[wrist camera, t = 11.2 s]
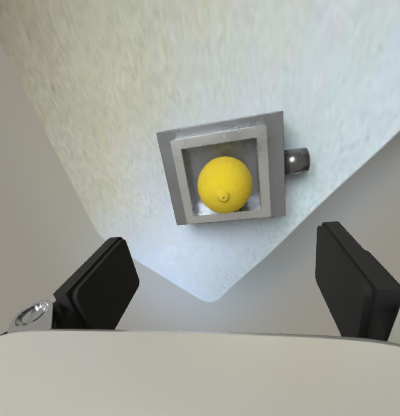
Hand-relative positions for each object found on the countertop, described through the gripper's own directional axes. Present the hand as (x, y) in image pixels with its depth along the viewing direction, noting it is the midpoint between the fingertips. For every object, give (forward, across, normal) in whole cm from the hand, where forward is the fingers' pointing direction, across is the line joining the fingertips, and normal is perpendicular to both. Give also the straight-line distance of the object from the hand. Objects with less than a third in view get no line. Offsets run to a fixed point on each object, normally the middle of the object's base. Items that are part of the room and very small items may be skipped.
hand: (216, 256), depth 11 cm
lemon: (+17, 0, 0) cm, 17 cm away
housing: (+22, -1, +1) cm, 22 cm away
